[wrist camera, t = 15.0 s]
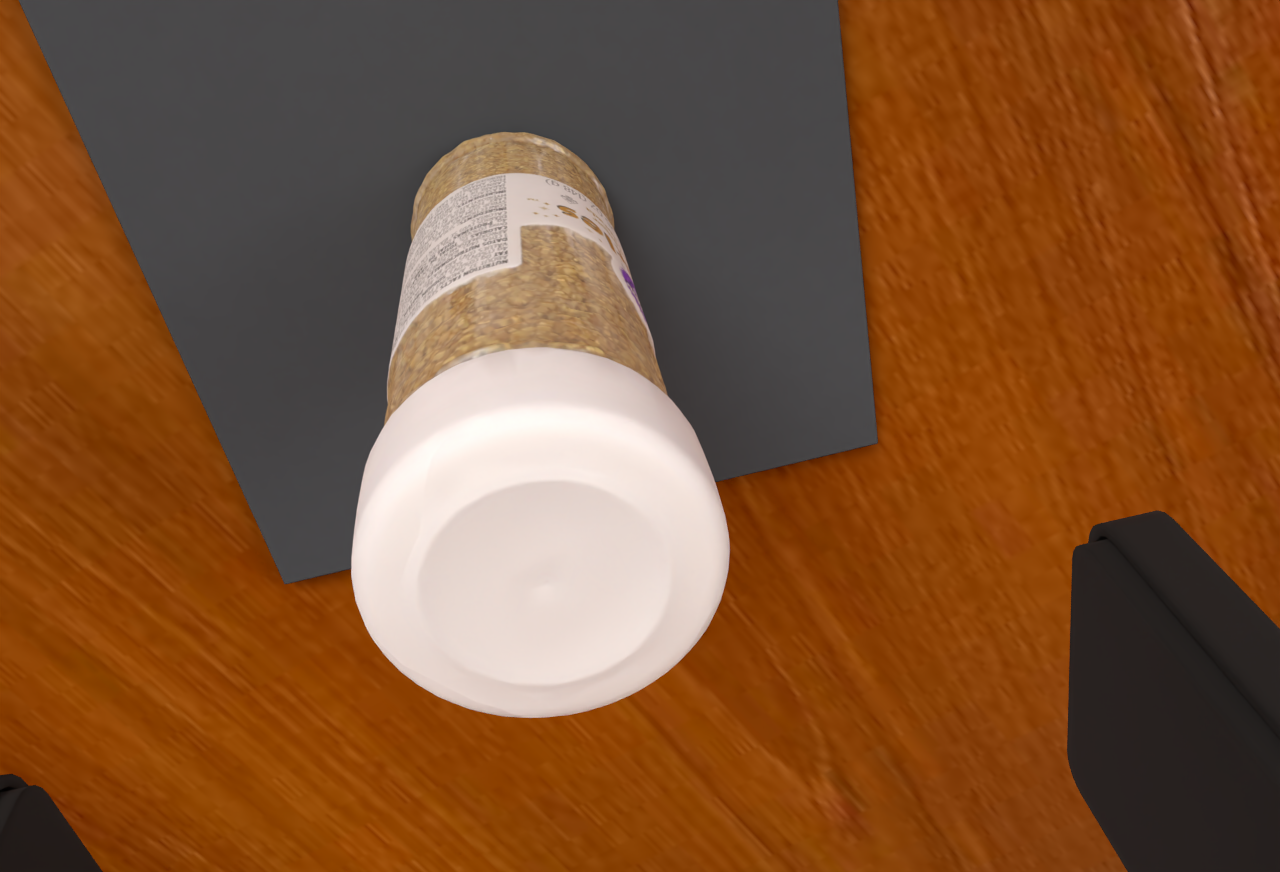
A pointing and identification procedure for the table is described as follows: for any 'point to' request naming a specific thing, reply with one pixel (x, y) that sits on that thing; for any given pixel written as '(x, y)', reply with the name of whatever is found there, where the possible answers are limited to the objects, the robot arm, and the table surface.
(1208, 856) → the robot arm
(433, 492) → the sprinkles bottle
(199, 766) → the table surface
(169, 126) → the mat
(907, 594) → the table surface
